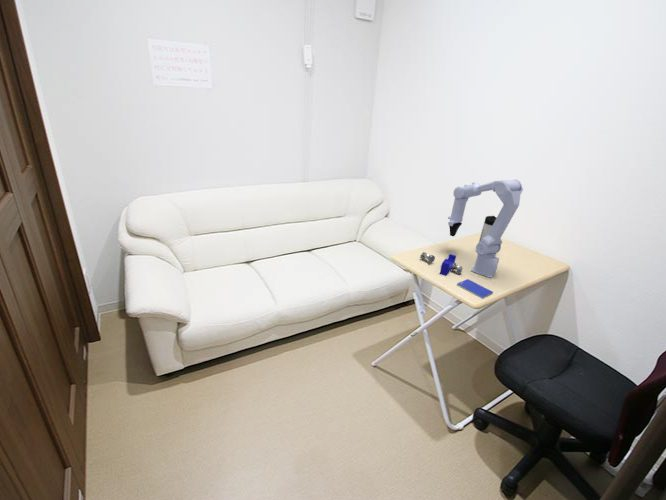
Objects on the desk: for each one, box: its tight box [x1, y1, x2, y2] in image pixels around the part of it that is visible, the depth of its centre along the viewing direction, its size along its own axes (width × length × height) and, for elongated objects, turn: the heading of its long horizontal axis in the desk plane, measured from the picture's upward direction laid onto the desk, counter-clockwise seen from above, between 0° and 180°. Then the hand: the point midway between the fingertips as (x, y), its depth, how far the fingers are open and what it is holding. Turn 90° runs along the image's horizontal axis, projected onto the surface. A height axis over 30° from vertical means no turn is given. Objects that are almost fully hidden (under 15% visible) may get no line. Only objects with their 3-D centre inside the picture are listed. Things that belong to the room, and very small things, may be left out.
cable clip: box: [439, 253, 457, 276], centre depth 163 cm, size 12×4×6 cm, turn 146°
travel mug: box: [478, 215, 497, 243], centre depth 181 cm, size 6×7×20 cm
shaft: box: [419, 251, 436, 263], centre depth 169 cm, size 6×4×4 cm, turn 33°
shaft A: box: [450, 262, 463, 275], centre depth 161 cm, size 4×4×4 cm
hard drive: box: [456, 278, 494, 299], centre depth 149 cm, size 2×8×12 cm
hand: (452, 235), depth 179 cm, fingers closed
